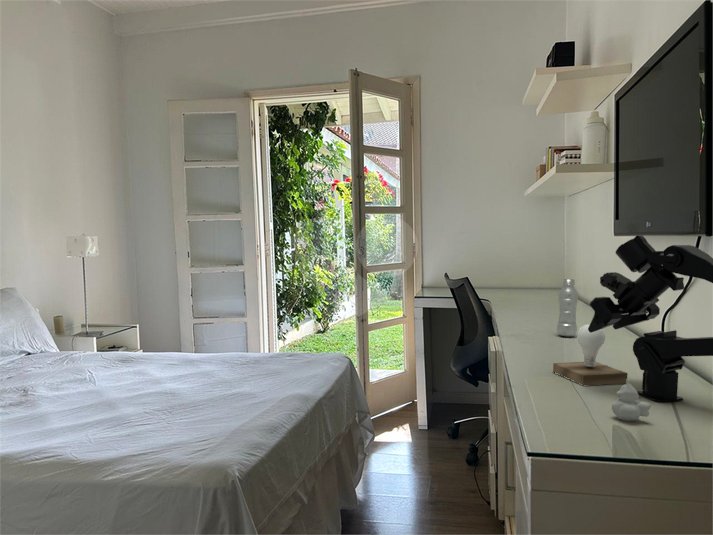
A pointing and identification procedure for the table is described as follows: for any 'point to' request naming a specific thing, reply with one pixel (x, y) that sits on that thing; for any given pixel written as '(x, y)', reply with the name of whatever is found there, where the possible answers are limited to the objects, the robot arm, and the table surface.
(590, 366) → the lightbulb
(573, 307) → the plastic bottle
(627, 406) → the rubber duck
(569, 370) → the walnut plinth
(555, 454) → the table surface
